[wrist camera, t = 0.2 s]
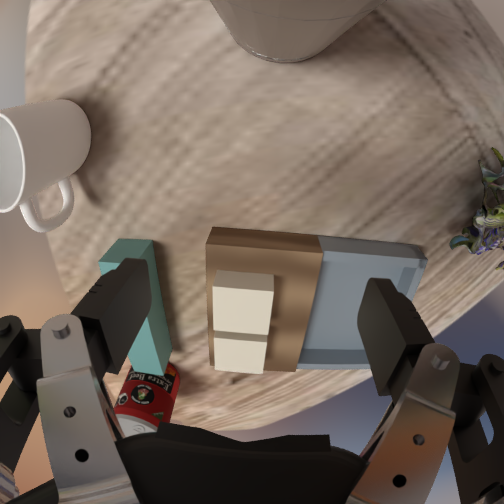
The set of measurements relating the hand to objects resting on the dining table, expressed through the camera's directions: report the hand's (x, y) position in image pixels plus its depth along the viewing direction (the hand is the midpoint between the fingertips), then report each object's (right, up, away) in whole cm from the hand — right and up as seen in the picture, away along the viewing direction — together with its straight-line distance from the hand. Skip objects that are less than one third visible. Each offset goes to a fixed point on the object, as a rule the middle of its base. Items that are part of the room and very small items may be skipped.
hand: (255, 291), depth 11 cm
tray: (+11, -4, +22) cm, 25 cm away
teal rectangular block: (-12, -4, +23) cm, 27 cm away
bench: (+1, -4, +22) cm, 22 cm away
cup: (-19, +12, +15) cm, 27 cm away
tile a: (-1, -3, +17) cm, 17 cm away
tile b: (-1, -8, +20) cm, 22 cm away
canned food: (-14, -16, +30) cm, 37 cm away
